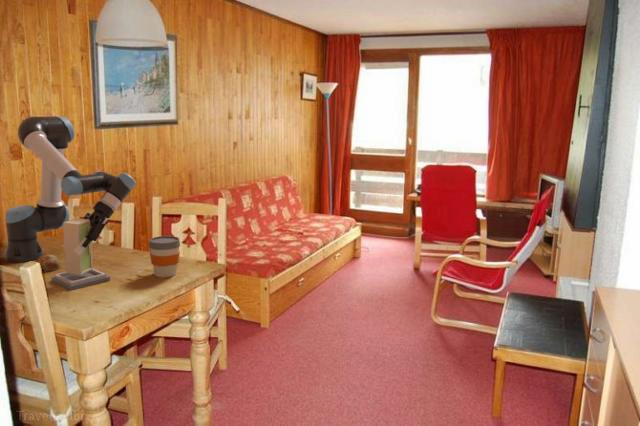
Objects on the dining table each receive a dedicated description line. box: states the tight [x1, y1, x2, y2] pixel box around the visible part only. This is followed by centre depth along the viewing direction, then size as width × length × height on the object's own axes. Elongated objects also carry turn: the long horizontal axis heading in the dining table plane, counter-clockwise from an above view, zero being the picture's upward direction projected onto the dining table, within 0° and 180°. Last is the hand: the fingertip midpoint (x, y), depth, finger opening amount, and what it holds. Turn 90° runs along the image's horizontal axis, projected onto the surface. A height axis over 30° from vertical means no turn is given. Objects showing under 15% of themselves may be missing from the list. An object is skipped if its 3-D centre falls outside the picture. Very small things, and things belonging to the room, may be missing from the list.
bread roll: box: [35, 254, 62, 273], centre depth 217 cm, size 10×10×8 cm
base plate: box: [50, 268, 111, 291], centre depth 204 cm, size 16×16×3 cm
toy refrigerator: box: [62, 217, 94, 275], centre depth 201 cm, size 8×7×21 cm
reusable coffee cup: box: [148, 235, 181, 278], centre depth 214 cm, size 13×13×15 cm
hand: (70, 250), depth 199 cm, fingers closed on toy refrigerator, 9 cm apart
